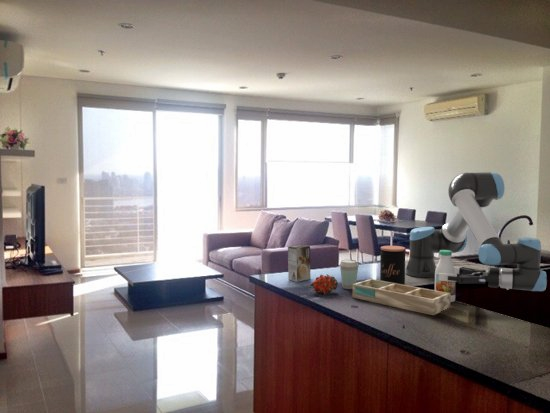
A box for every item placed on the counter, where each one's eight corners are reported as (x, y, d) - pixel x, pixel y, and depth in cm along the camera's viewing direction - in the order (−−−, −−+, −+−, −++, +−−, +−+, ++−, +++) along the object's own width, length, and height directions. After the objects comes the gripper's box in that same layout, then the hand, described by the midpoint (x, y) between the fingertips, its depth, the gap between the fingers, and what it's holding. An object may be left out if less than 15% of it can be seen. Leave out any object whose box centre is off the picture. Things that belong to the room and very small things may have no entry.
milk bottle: (430, 299, 192) (431, 249, 190) (445, 296, 195) (446, 248, 193) (444, 303, 184) (445, 252, 183) (459, 301, 187) (460, 251, 186)
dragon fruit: (340, 296, 202) (312, 301, 201) (335, 281, 209) (308, 286, 208) (340, 283, 197) (312, 288, 196) (335, 268, 203) (308, 273, 202)
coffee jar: (375, 287, 210) (375, 247, 209) (387, 283, 218) (388, 244, 217) (397, 291, 203) (397, 250, 202) (409, 287, 211) (409, 247, 210)
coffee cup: (358, 290, 206) (358, 263, 205) (338, 289, 208) (338, 262, 207) (359, 285, 215) (359, 259, 214) (340, 284, 216) (340, 258, 215)
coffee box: (301, 276, 234) (301, 244, 232) (310, 279, 229) (310, 245, 228) (287, 279, 228) (287, 246, 226) (297, 282, 223) (296, 248, 222)
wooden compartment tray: (370, 291, 204) (370, 278, 204) (450, 307, 179) (450, 293, 179) (351, 297, 194) (351, 284, 194) (432, 315, 169) (433, 300, 169)
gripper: (499, 295, 169) (436, 289, 178) (498, 280, 192) (443, 276, 201) (500, 274, 169) (437, 269, 178) (499, 262, 191) (443, 258, 200)
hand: (440, 273), depth 189 cm, fingers open, 13 cm apart
